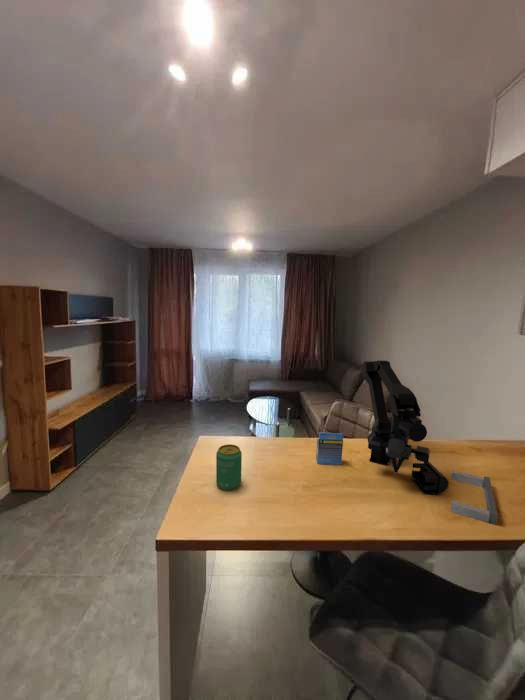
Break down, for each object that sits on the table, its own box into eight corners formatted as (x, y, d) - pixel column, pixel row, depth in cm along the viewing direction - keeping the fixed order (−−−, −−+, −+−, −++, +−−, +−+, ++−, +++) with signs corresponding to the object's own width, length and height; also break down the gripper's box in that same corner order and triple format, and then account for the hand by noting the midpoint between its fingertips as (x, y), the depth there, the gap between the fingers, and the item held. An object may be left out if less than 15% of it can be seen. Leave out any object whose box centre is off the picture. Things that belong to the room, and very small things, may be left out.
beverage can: (245, 481, 108) (246, 446, 106) (233, 493, 101) (233, 457, 99) (224, 475, 111) (224, 441, 109) (211, 487, 104) (211, 451, 102)
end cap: (447, 496, 102) (450, 476, 101) (425, 495, 102) (427, 475, 101) (430, 478, 112) (432, 460, 111) (410, 478, 112) (412, 459, 111)
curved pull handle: (450, 511, 95) (452, 502, 94) (451, 476, 114) (452, 468, 113) (496, 525, 90) (497, 515, 89) (488, 485, 108) (489, 477, 108)
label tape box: (339, 460, 124) (341, 429, 122) (341, 465, 120) (343, 433, 118) (315, 459, 124) (317, 428, 122) (317, 464, 120) (319, 432, 118)
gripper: (366, 430, 107) (362, 475, 109) (430, 444, 98) (424, 492, 100) (373, 420, 117) (369, 461, 119) (432, 431, 107) (427, 475, 110)
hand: (396, 472), depth 112 cm, fingers closed
